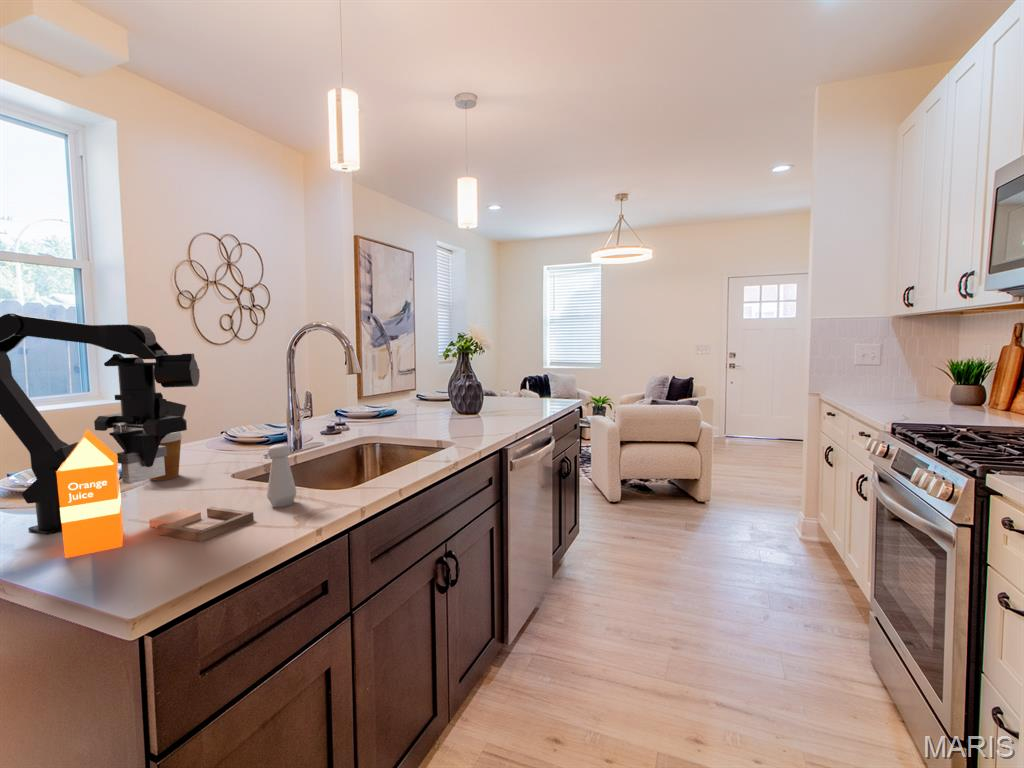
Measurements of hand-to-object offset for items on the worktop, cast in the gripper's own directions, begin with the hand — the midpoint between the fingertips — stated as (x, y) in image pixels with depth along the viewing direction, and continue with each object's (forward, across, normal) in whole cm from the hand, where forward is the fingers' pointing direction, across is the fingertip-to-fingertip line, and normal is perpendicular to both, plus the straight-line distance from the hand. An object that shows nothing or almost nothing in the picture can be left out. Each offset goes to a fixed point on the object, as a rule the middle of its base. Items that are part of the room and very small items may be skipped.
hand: (143, 466), depth 101 cm
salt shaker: (+11, -20, -15) cm, 27 cm away
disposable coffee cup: (+11, +28, -23) cm, 38 cm away
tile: (+11, -8, 0) cm, 14 cm away
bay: (+11, -16, 0) cm, 19 cm away
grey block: (+3, 0, 0) cm, 3 cm away
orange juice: (+11, -5, +12) cm, 17 cm away
